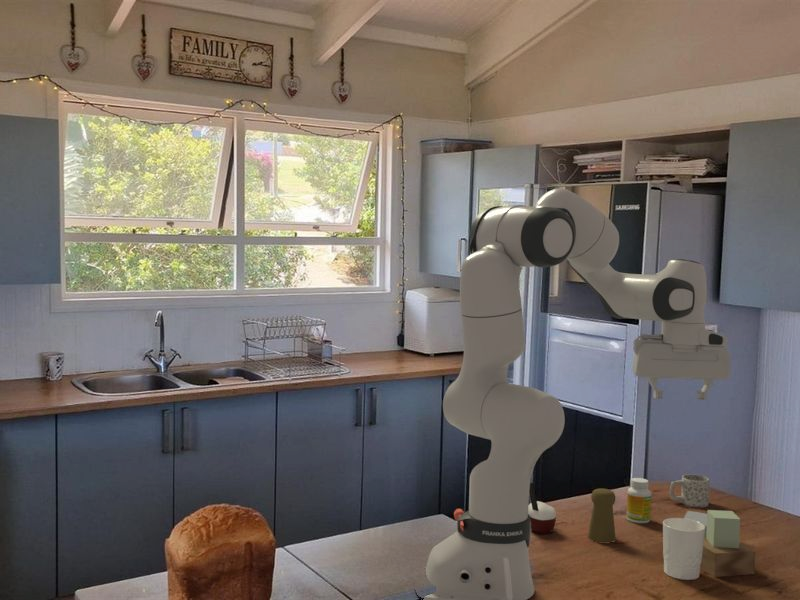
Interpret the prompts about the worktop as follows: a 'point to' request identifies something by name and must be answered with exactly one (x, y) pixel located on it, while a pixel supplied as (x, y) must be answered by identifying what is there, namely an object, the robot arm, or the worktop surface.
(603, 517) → the cork
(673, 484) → the mug
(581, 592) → the worktop surface
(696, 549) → the white cup
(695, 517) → the grey block
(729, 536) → the sage block
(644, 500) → the supplement bottle
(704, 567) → the walnut block
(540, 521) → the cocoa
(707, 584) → the worktop surface
